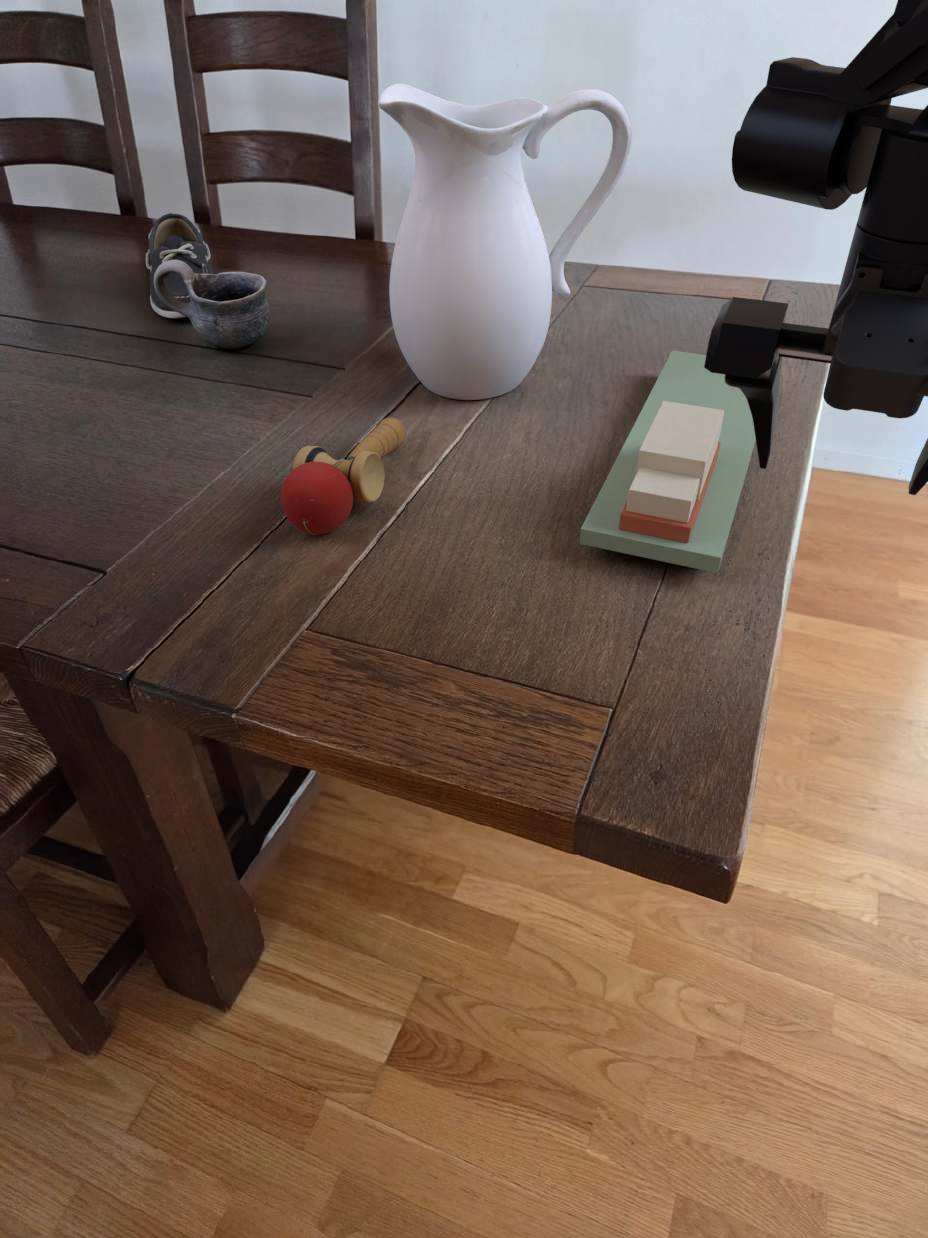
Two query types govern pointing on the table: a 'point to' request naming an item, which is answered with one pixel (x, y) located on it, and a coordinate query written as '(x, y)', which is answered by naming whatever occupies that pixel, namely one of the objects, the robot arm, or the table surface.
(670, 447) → the stepped block on base
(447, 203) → the pitcher
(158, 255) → the boat shoe
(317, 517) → the kendama
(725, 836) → the table surface
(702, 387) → the flat pale green board
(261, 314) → the mug
